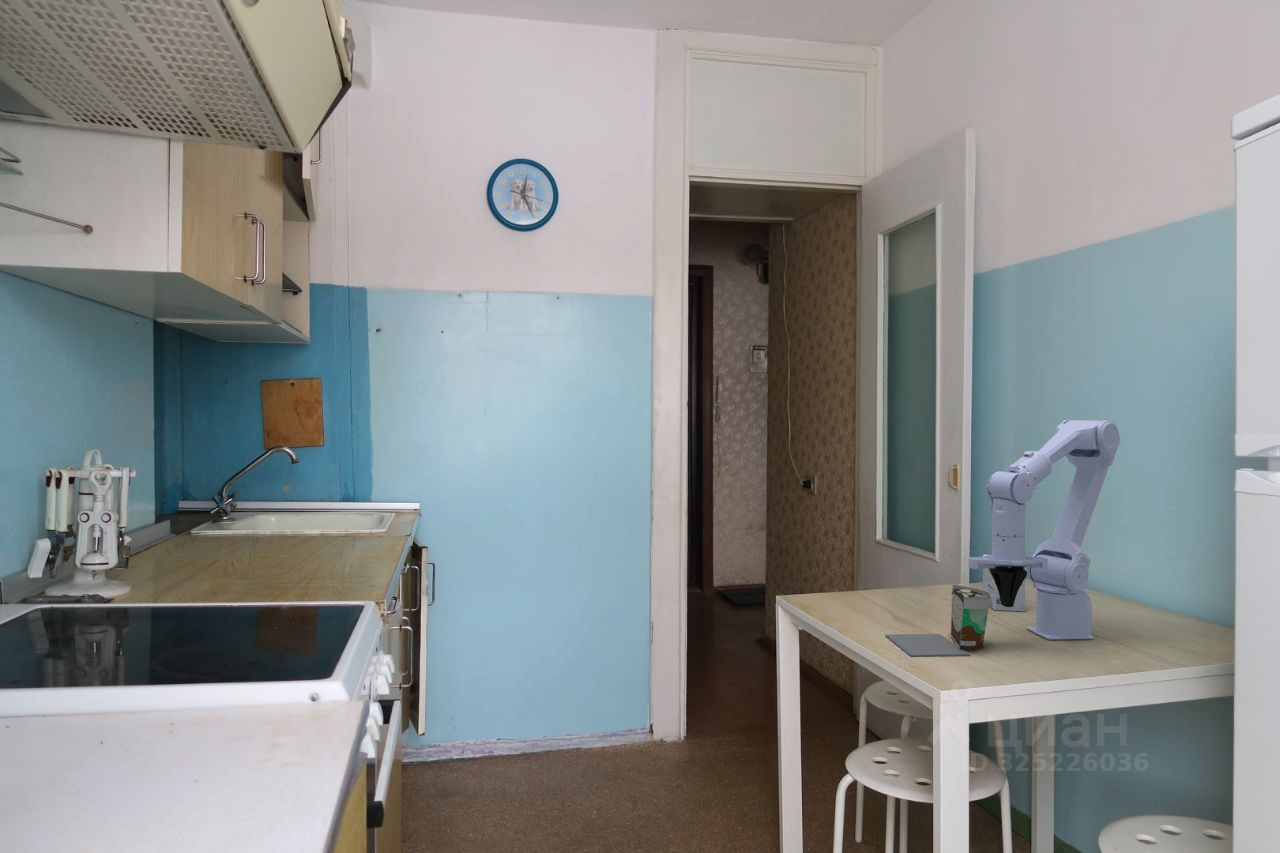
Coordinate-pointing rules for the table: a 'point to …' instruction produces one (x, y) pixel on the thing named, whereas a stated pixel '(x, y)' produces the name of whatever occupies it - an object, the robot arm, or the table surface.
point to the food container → (969, 616)
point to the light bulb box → (992, 589)
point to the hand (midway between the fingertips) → (1007, 605)
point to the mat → (926, 645)
